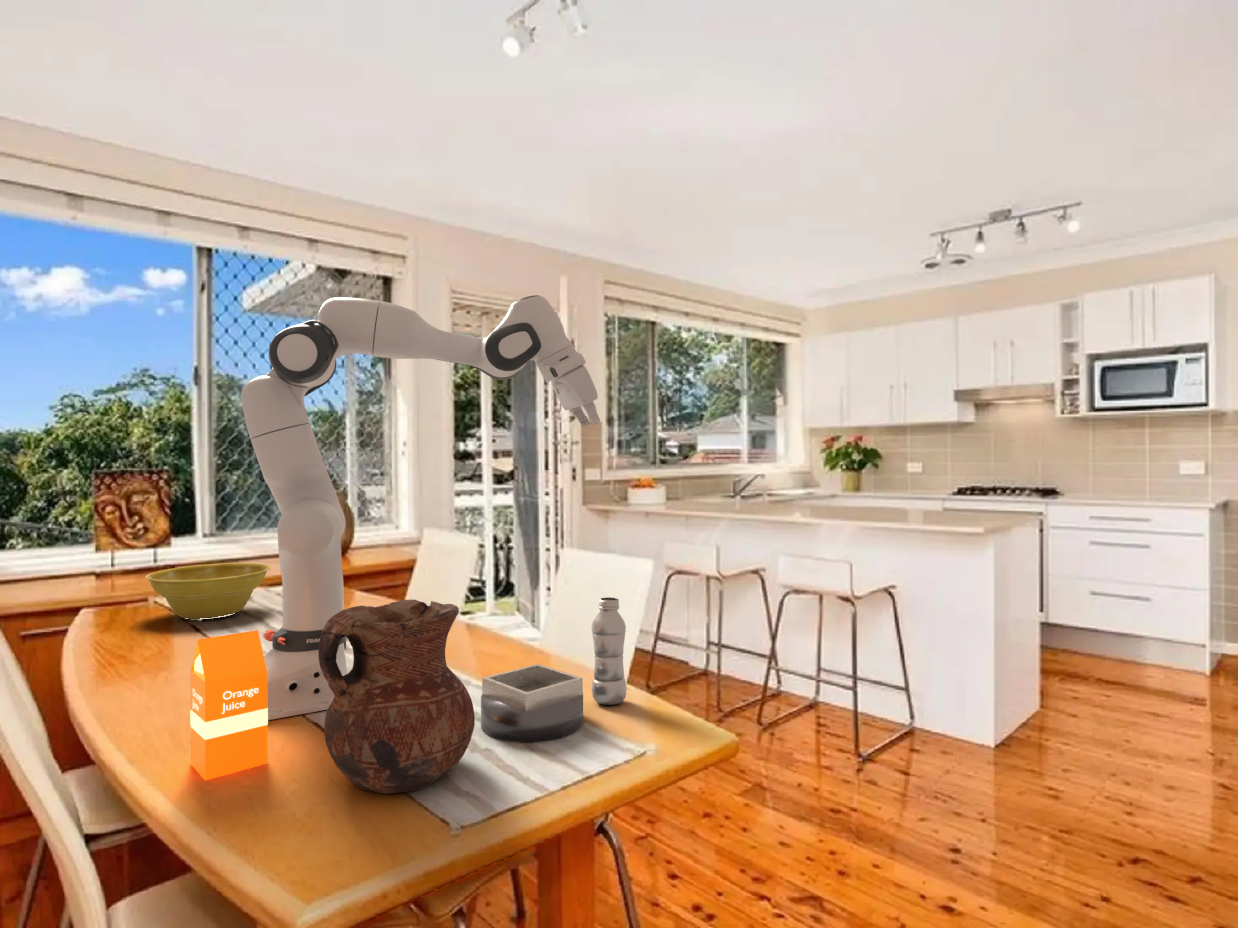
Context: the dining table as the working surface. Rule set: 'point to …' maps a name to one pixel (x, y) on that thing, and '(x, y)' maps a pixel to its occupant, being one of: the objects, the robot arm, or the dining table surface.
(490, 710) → the disc with square tube
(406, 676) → the jug
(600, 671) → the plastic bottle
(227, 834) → the dining table surface
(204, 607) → the planter bowl
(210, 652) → the orange juice
